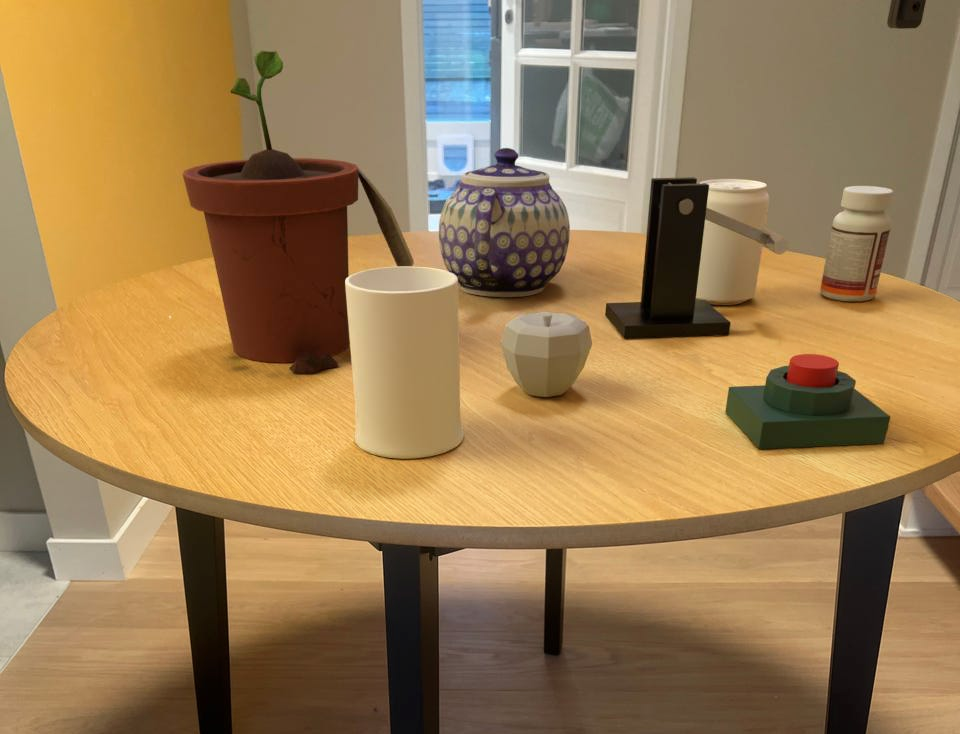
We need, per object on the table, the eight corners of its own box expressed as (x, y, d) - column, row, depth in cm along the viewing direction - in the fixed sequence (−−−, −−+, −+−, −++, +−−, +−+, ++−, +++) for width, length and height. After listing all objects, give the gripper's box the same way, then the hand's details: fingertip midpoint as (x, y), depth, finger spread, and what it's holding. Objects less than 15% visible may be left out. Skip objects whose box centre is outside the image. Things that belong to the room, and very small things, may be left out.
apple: (593, 407, 79) (598, 328, 76) (499, 406, 79) (500, 328, 76) (586, 376, 86) (590, 302, 82) (499, 376, 86) (500, 302, 82)
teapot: (544, 319, 102) (549, 165, 93) (409, 310, 105) (403, 161, 97) (584, 267, 122) (591, 137, 113) (470, 261, 125) (469, 134, 117)
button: (823, 374, 75) (827, 352, 74) (842, 390, 72) (846, 367, 71) (779, 376, 75) (783, 354, 74) (796, 391, 72) (800, 369, 71)
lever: (763, 250, 99) (774, 227, 98) (781, 261, 95) (793, 237, 94) (653, 204, 95) (663, 179, 94) (667, 213, 91) (678, 187, 90)
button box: (840, 407, 79) (850, 359, 77) (884, 443, 72) (897, 392, 70) (724, 412, 78) (731, 364, 76) (758, 449, 72) (767, 398, 69)
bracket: (702, 311, 104) (720, 173, 96) (729, 335, 96) (750, 187, 89) (605, 315, 103) (614, 175, 95) (623, 338, 96) (635, 190, 88)
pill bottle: (853, 287, 112) (874, 183, 106) (886, 300, 107) (911, 192, 101) (808, 291, 111) (827, 186, 105) (839, 304, 106) (862, 195, 100)
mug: (372, 403, 80) (362, 254, 74) (472, 405, 80) (470, 256, 73) (344, 458, 71) (329, 292, 64) (458, 461, 70) (454, 294, 63)
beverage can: (742, 310, 104) (759, 192, 97) (672, 301, 108) (684, 186, 101) (762, 294, 110) (780, 181, 103) (696, 286, 113) (709, 176, 107)
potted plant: (264, 314, 104) (229, 47, 90) (451, 329, 99) (445, 48, 85) (179, 363, 90) (121, 55, 76) (392, 382, 85) (372, 56, 71)
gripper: (1068, -286, 62) (992, 28, 71) (960, -243, 73) (907, 25, 82) (959, -287, 61) (897, 31, 71) (867, -243, 72) (824, 27, 82)
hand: (902, 27), depth 77 cm, fingers closed
